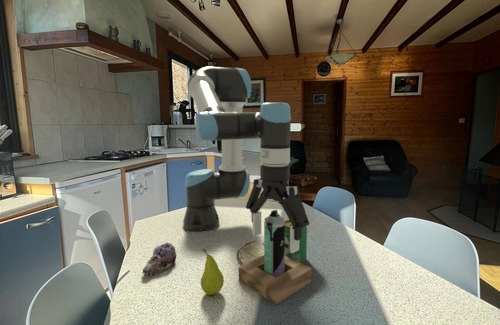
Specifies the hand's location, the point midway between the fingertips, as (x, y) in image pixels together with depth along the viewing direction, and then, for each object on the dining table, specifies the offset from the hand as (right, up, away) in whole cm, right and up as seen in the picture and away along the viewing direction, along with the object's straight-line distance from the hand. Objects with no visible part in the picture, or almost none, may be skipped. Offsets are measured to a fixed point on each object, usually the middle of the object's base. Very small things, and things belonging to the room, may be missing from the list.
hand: (274, 242), depth 73 cm
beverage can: (+7, -9, +13) cm, 18 cm away
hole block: (0, -11, +1) cm, 11 cm away
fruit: (-16, -12, -4) cm, 21 cm away
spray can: (0, -11, +1) cm, 11 cm away
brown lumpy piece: (-34, -11, +9) cm, 37 cm away
